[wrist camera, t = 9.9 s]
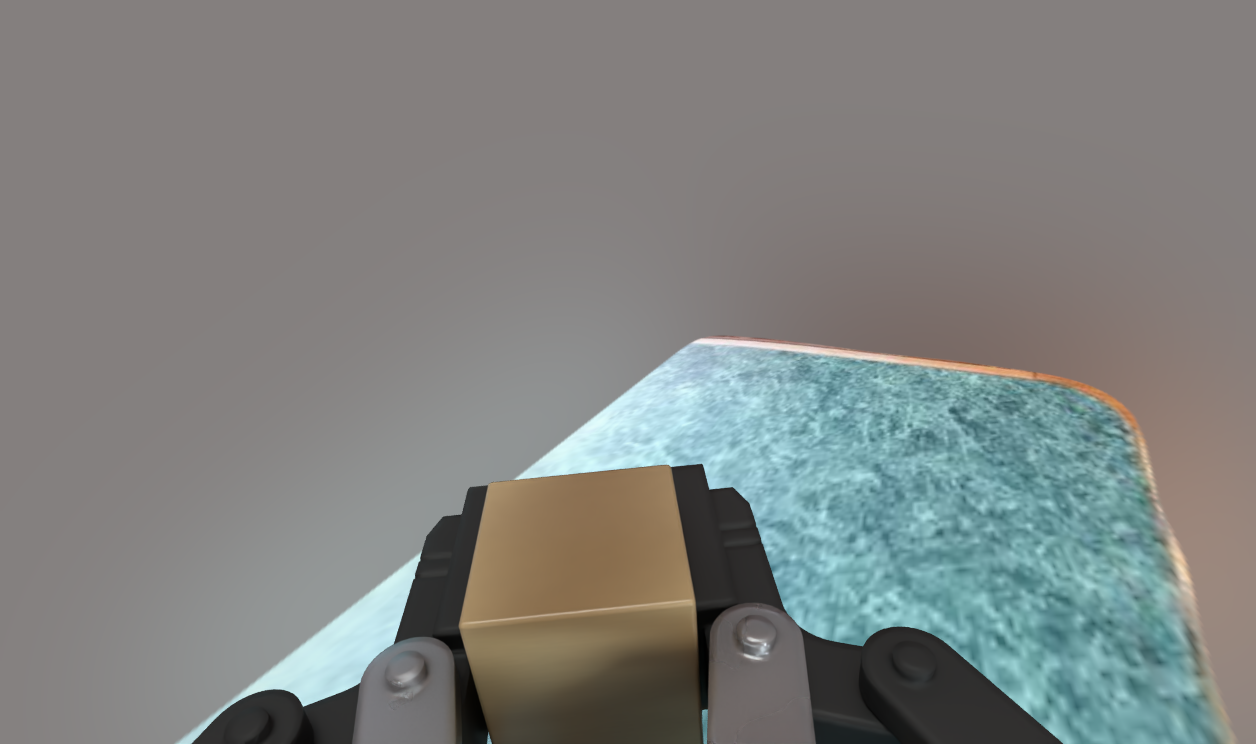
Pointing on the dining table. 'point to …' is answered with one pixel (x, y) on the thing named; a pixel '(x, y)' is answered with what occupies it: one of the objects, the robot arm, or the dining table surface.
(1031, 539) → the dining table surface
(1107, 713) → the dining table surface
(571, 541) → the pillar on square base
